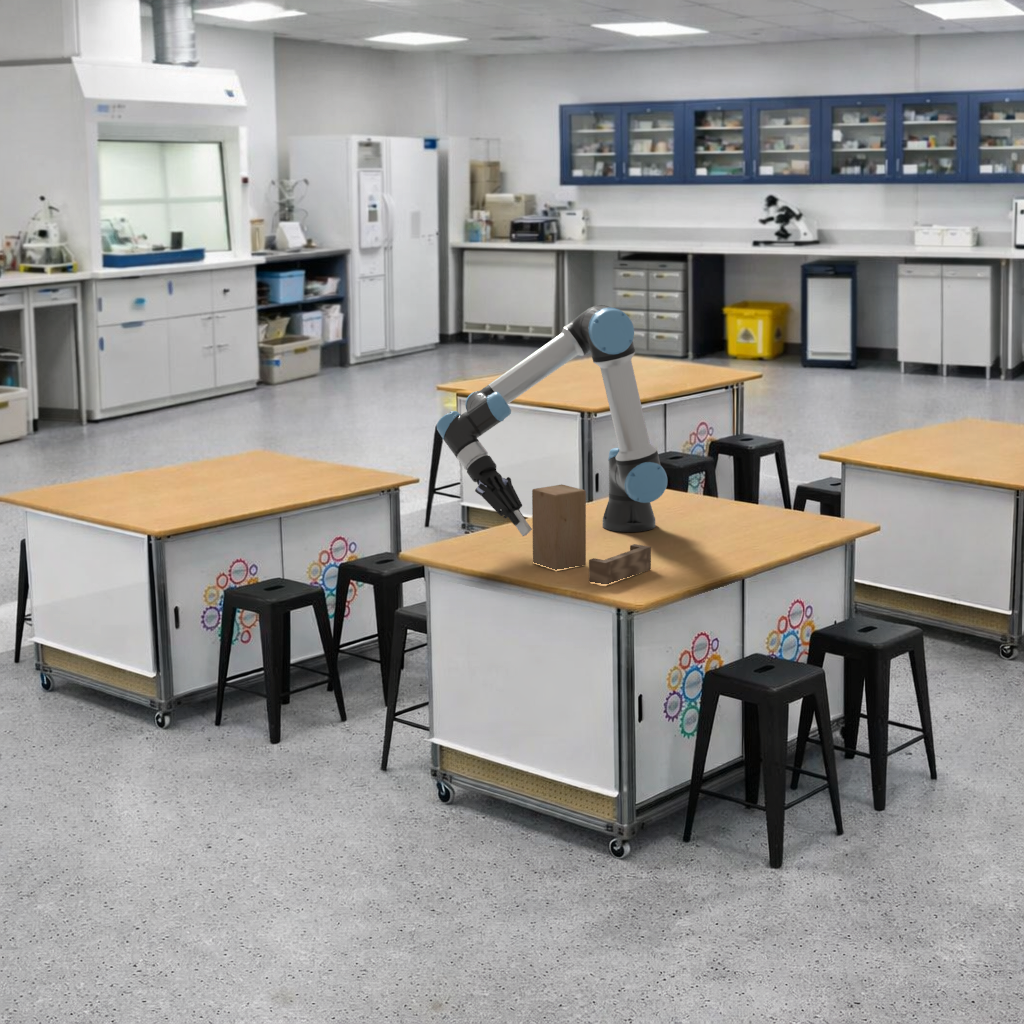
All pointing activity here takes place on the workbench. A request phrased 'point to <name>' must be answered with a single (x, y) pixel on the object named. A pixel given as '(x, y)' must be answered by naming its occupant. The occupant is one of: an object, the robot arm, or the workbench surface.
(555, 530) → the wooden block
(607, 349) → the robot arm
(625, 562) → the stop rail
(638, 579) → the workbench surface
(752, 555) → the workbench surface
